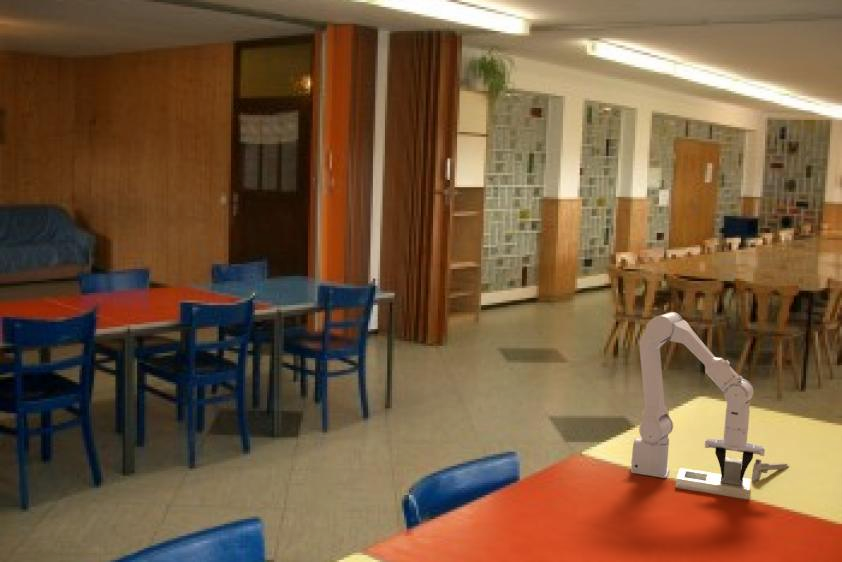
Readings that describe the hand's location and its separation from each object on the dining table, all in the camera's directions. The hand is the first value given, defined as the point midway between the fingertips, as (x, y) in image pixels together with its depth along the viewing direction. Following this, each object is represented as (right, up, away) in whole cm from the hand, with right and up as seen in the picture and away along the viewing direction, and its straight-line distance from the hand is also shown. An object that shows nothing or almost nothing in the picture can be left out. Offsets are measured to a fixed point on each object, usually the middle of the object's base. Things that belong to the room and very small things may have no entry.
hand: (731, 477), depth 229 cm
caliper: (+16, -3, +15) cm, 22 cm away
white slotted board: (-4, -3, +2) cm, 6 cm away
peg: (0, -3, 0) cm, 3 cm away
